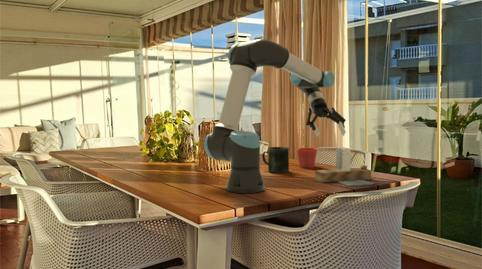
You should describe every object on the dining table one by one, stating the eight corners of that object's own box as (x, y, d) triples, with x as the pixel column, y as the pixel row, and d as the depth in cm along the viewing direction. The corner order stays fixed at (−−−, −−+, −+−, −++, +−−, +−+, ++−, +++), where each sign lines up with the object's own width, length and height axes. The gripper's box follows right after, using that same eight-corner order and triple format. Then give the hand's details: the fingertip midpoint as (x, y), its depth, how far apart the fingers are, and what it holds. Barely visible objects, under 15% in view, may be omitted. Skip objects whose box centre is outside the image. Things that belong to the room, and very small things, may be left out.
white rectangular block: (342, 171, 182) (342, 149, 182) (335, 169, 188) (336, 147, 187) (350, 171, 183) (350, 148, 183) (343, 169, 189) (344, 147, 188)
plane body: (321, 182, 180) (321, 169, 179) (314, 179, 186) (314, 166, 186) (371, 178, 186) (371, 166, 185) (362, 176, 192) (363, 164, 192)
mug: (284, 174, 201) (284, 149, 200) (257, 171, 208) (257, 148, 207) (292, 170, 210) (292, 147, 209) (267, 168, 217) (267, 146, 216)
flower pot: (293, 165, 226) (293, 148, 226) (311, 164, 230) (311, 147, 229) (301, 168, 216) (301, 150, 216) (320, 167, 220) (320, 149, 219)
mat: (348, 186, 170) (348, 185, 170) (337, 182, 178) (337, 181, 178) (373, 184, 173) (373, 183, 172) (362, 180, 181) (362, 179, 181)
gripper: (337, 107, 215) (351, 138, 202) (292, 108, 208) (304, 140, 195) (342, 96, 209) (357, 128, 196) (296, 97, 203) (309, 130, 190)
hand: (331, 134), depth 196 cm, fingers open, 13 cm apart
